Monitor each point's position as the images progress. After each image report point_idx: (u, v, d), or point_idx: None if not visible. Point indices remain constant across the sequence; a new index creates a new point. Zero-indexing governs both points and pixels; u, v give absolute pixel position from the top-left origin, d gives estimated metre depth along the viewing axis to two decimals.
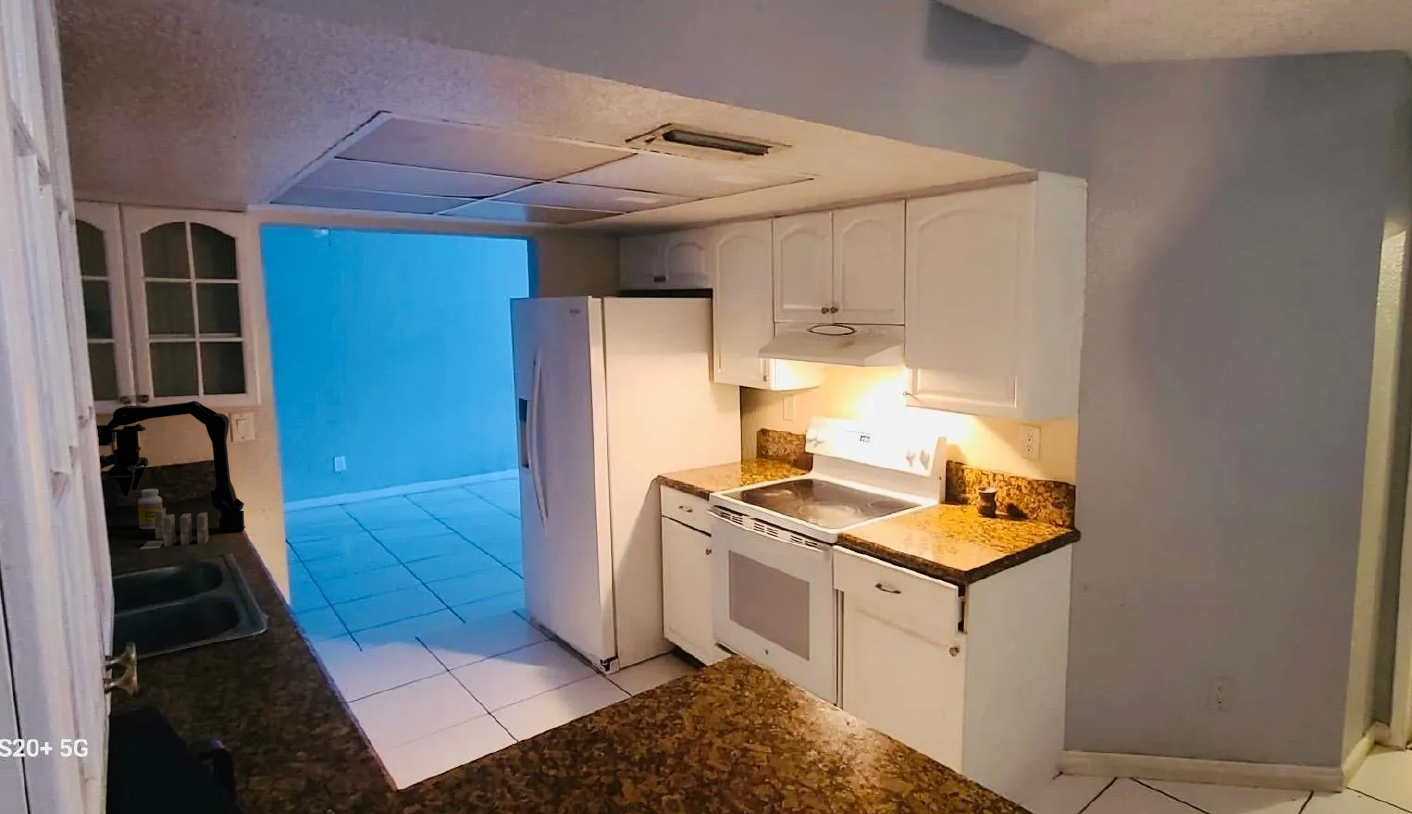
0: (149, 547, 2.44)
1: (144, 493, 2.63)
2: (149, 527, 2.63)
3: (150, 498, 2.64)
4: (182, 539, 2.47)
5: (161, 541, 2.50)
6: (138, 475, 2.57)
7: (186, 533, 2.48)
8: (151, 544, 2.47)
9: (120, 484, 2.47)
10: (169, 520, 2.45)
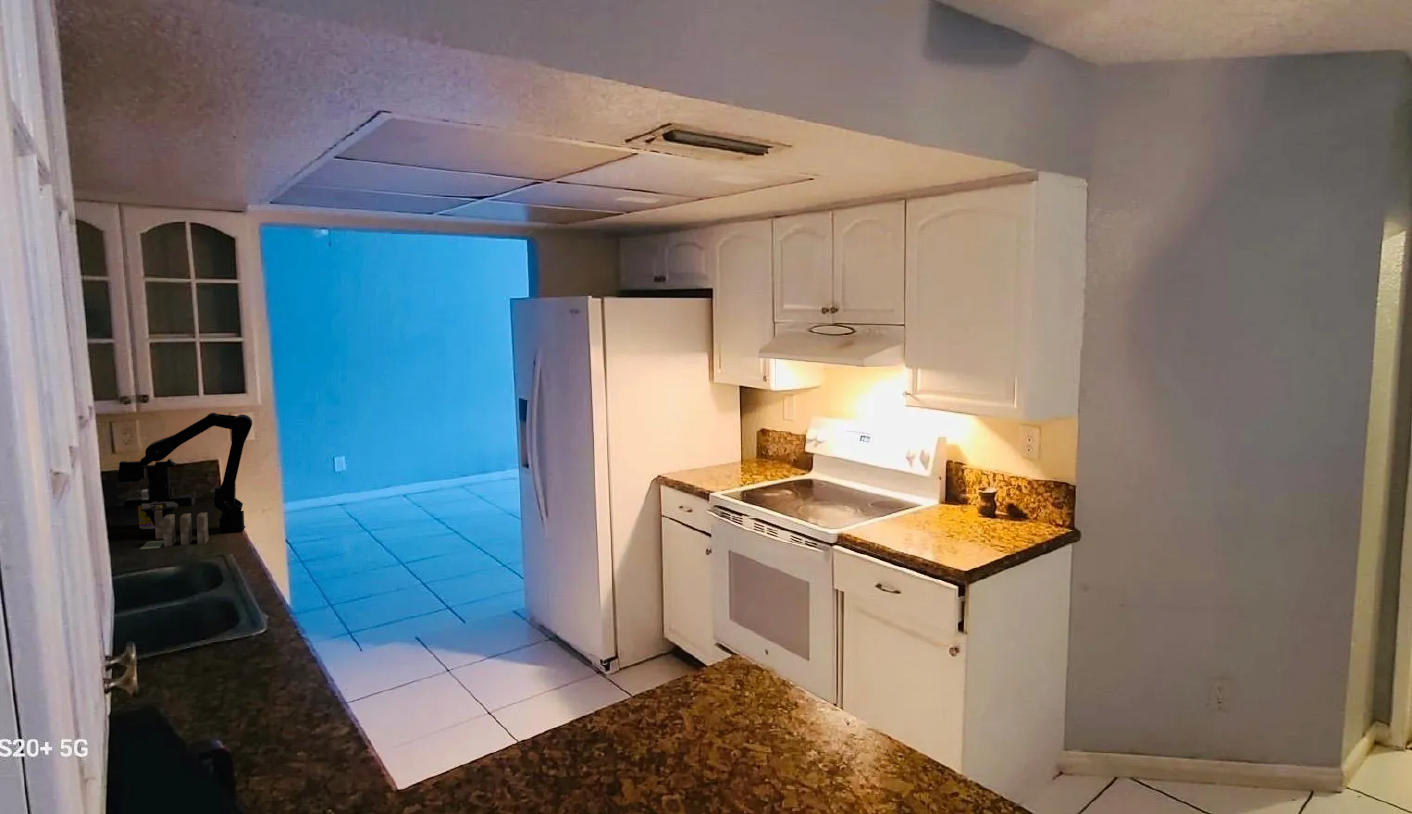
0: (149, 547, 2.44)
1: (144, 493, 2.63)
2: (149, 527, 2.63)
3: None
4: (182, 539, 2.47)
5: (161, 541, 2.50)
6: None
7: (186, 533, 2.48)
8: (151, 544, 2.47)
9: None
10: (169, 520, 2.45)
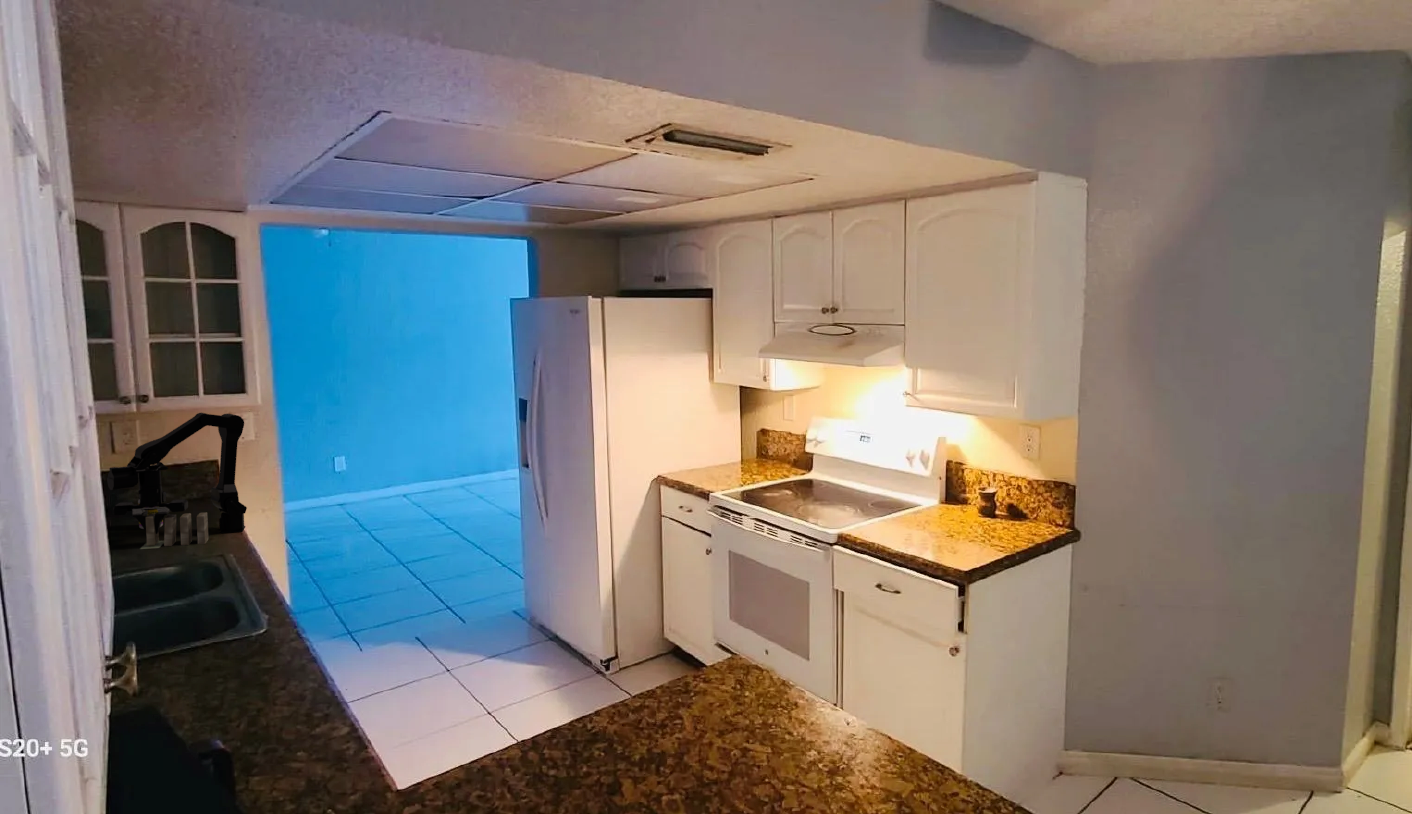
0: (149, 547, 2.44)
1: None
2: None
3: None
4: (182, 539, 2.47)
5: (161, 541, 2.50)
6: None
7: (186, 533, 2.48)
8: None
9: None
10: (171, 520, 2.46)
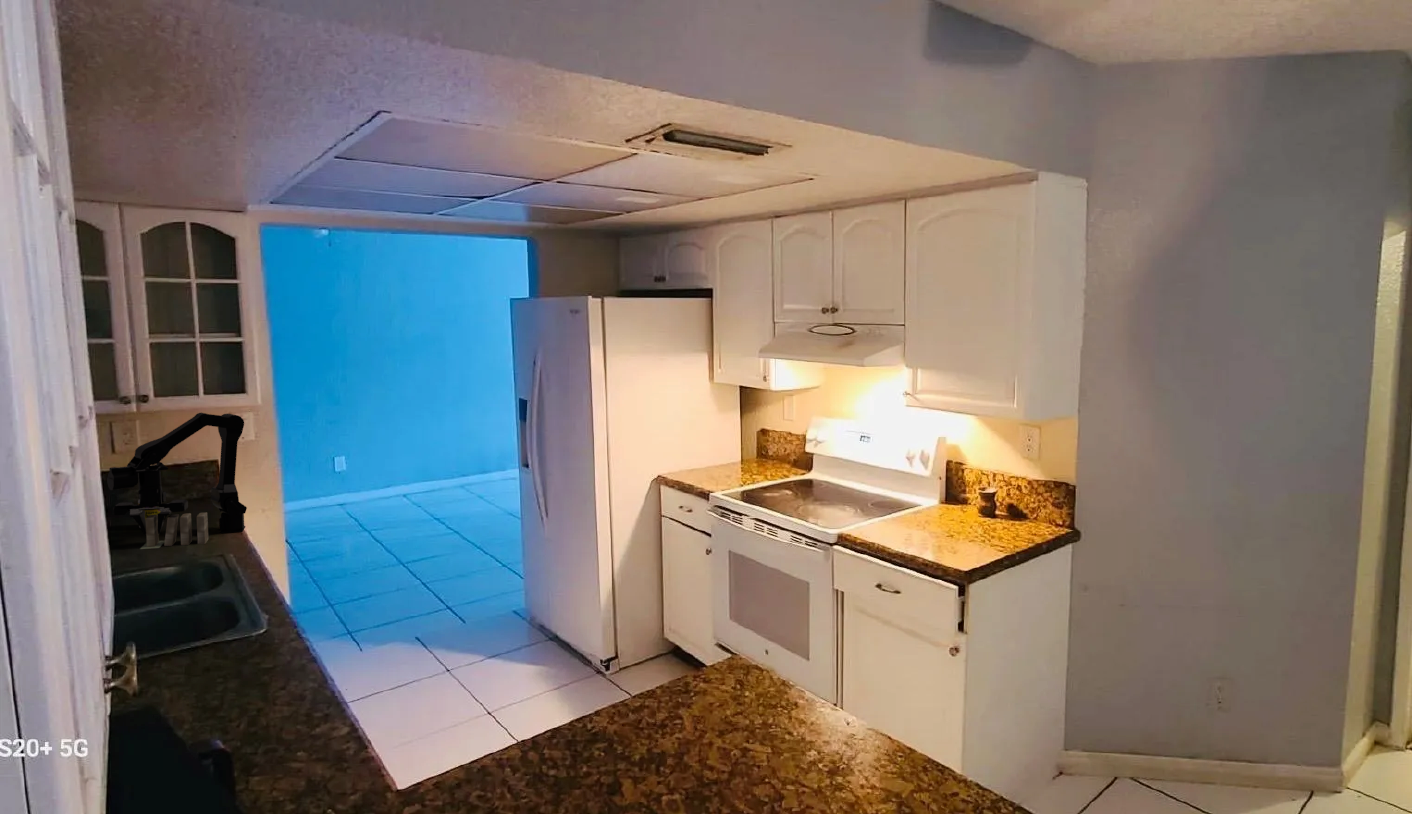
0: (149, 547, 2.44)
1: None
2: None
3: None
4: (182, 539, 2.47)
5: (161, 541, 2.50)
6: None
7: (186, 533, 2.48)
8: None
9: None
10: (173, 520, 2.46)
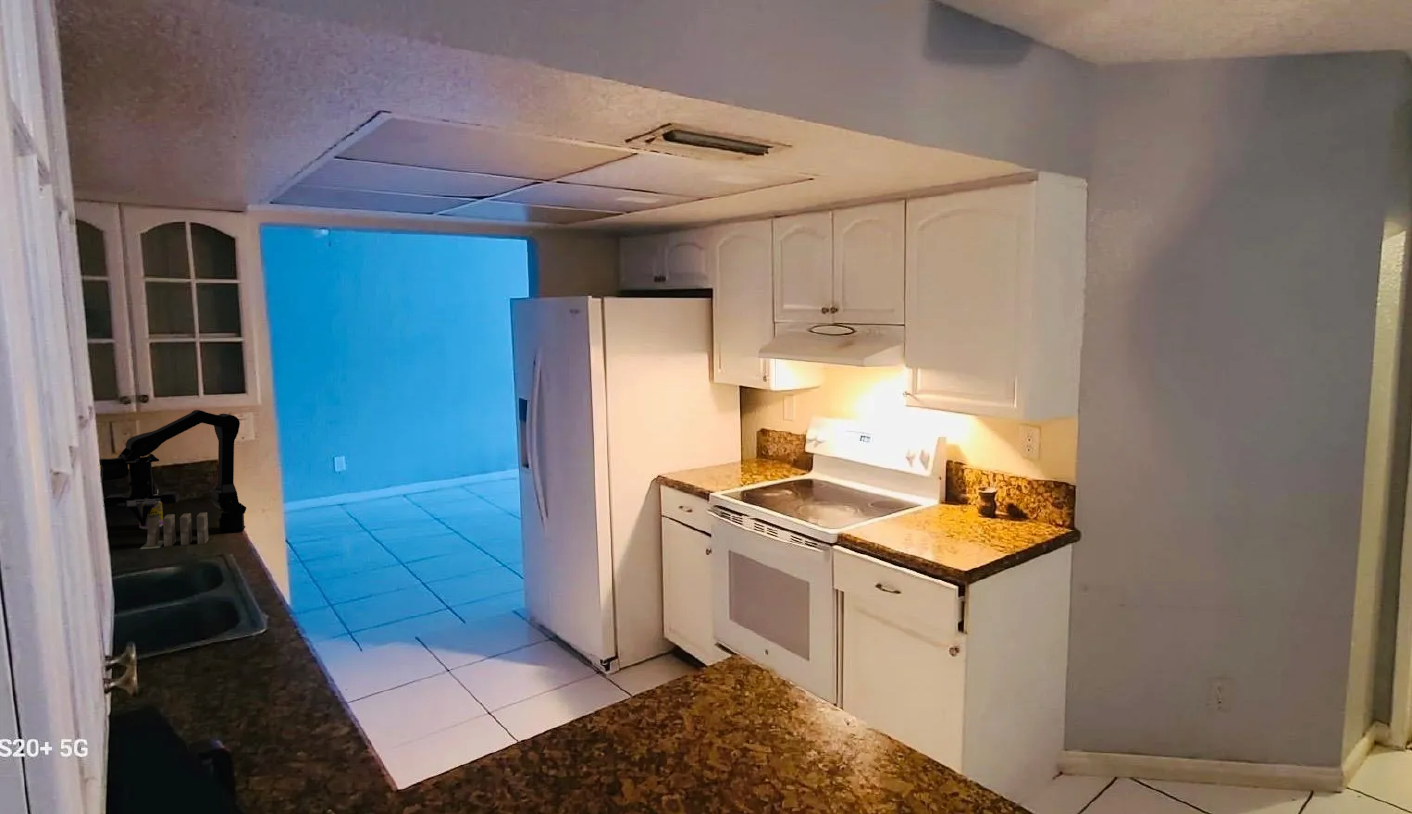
0: (149, 547, 2.44)
1: None
2: None
3: None
4: (182, 539, 2.47)
5: (161, 541, 2.50)
6: None
7: (186, 533, 2.48)
8: None
9: None
10: (169, 520, 2.45)
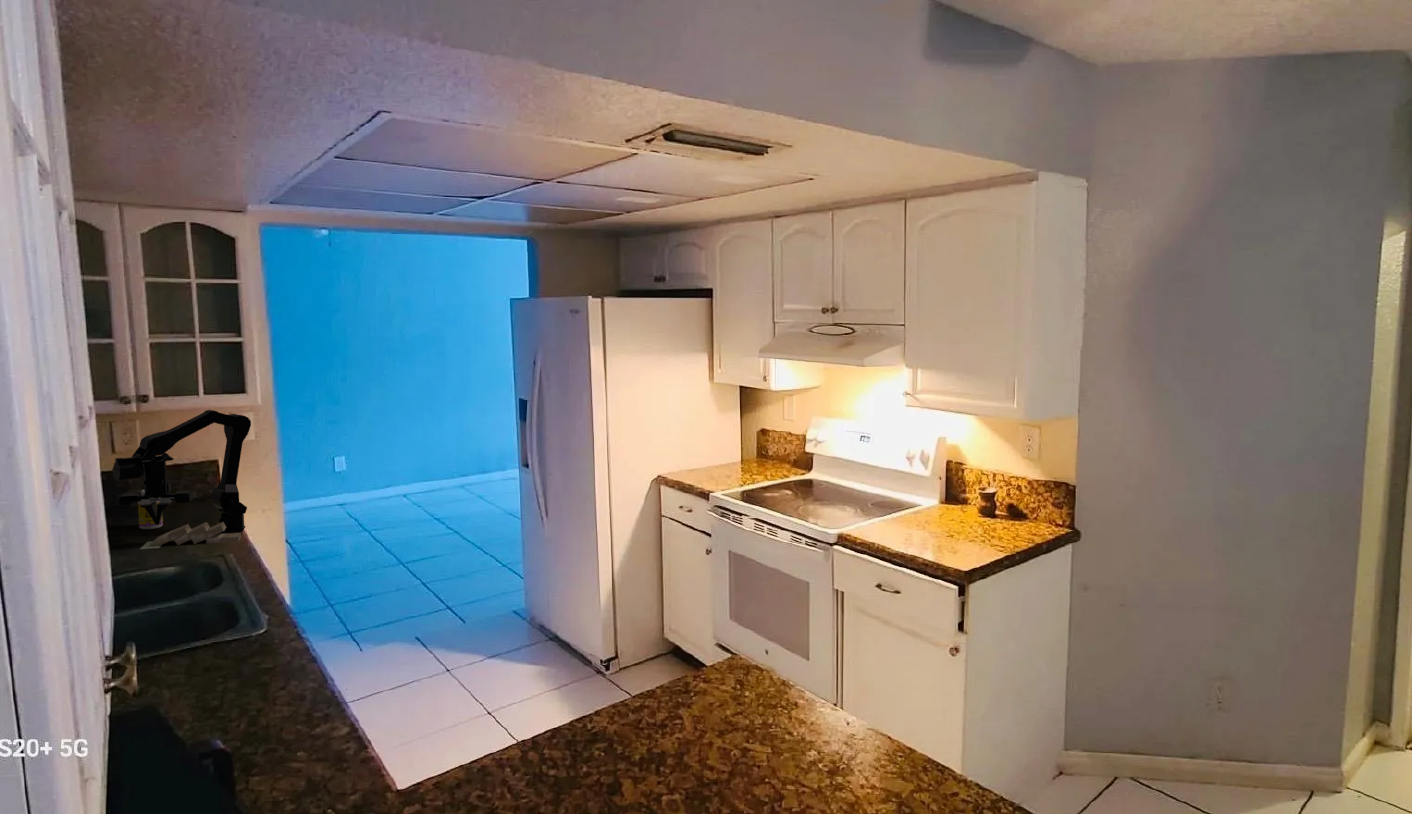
0: (149, 547, 2.44)
1: (144, 493, 2.63)
2: (149, 527, 2.63)
3: None
4: (197, 537, 2.49)
5: None
6: None
7: (205, 537, 2.50)
8: (151, 544, 2.47)
9: None
10: (204, 531, 2.49)
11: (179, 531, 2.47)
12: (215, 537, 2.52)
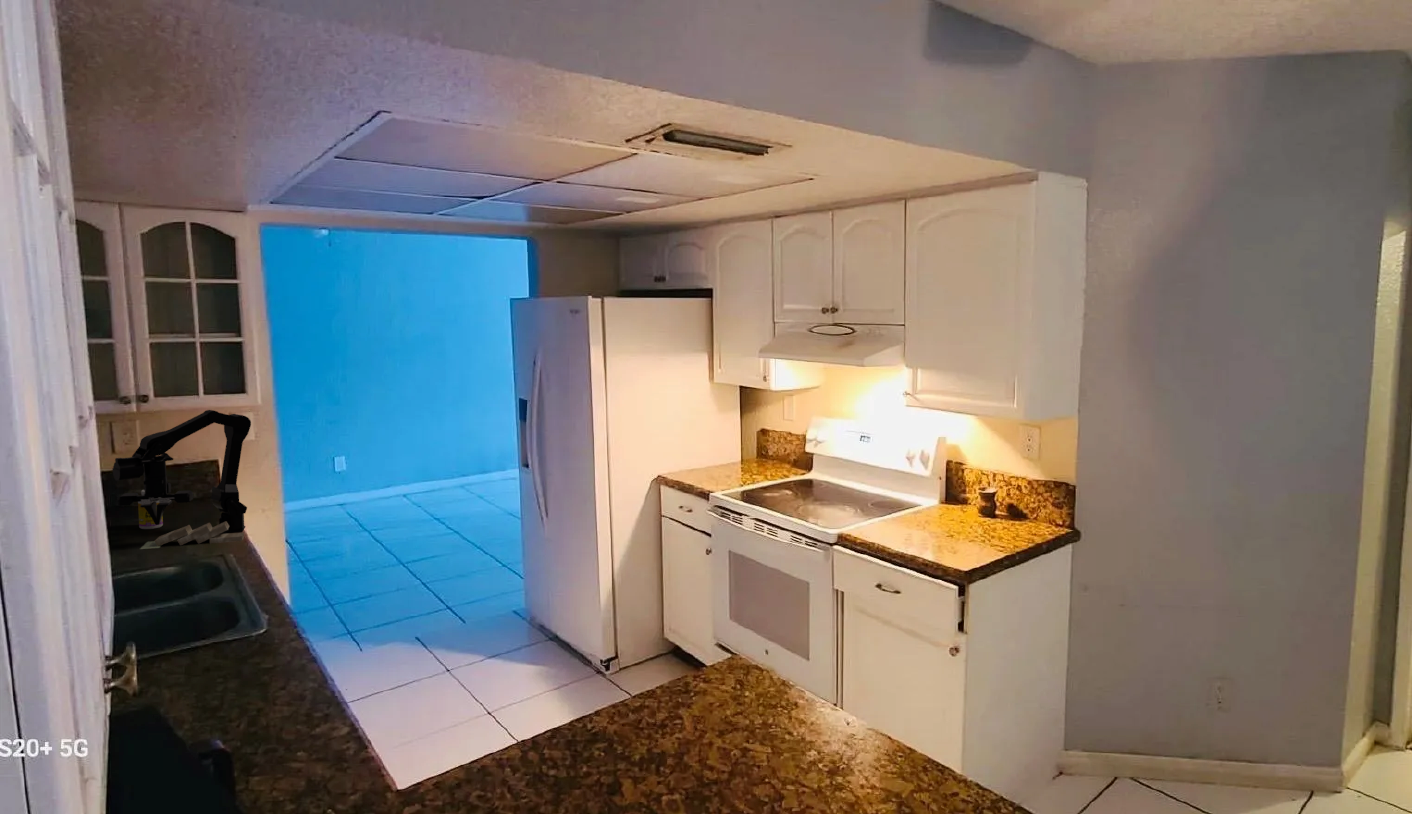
0: (149, 547, 2.44)
1: (144, 493, 2.63)
2: (149, 527, 2.63)
3: None
4: (201, 536, 2.49)
5: None
6: None
7: (209, 536, 2.50)
8: (151, 544, 2.47)
9: None
10: (207, 532, 2.49)
11: (180, 532, 2.47)
12: (218, 537, 2.52)
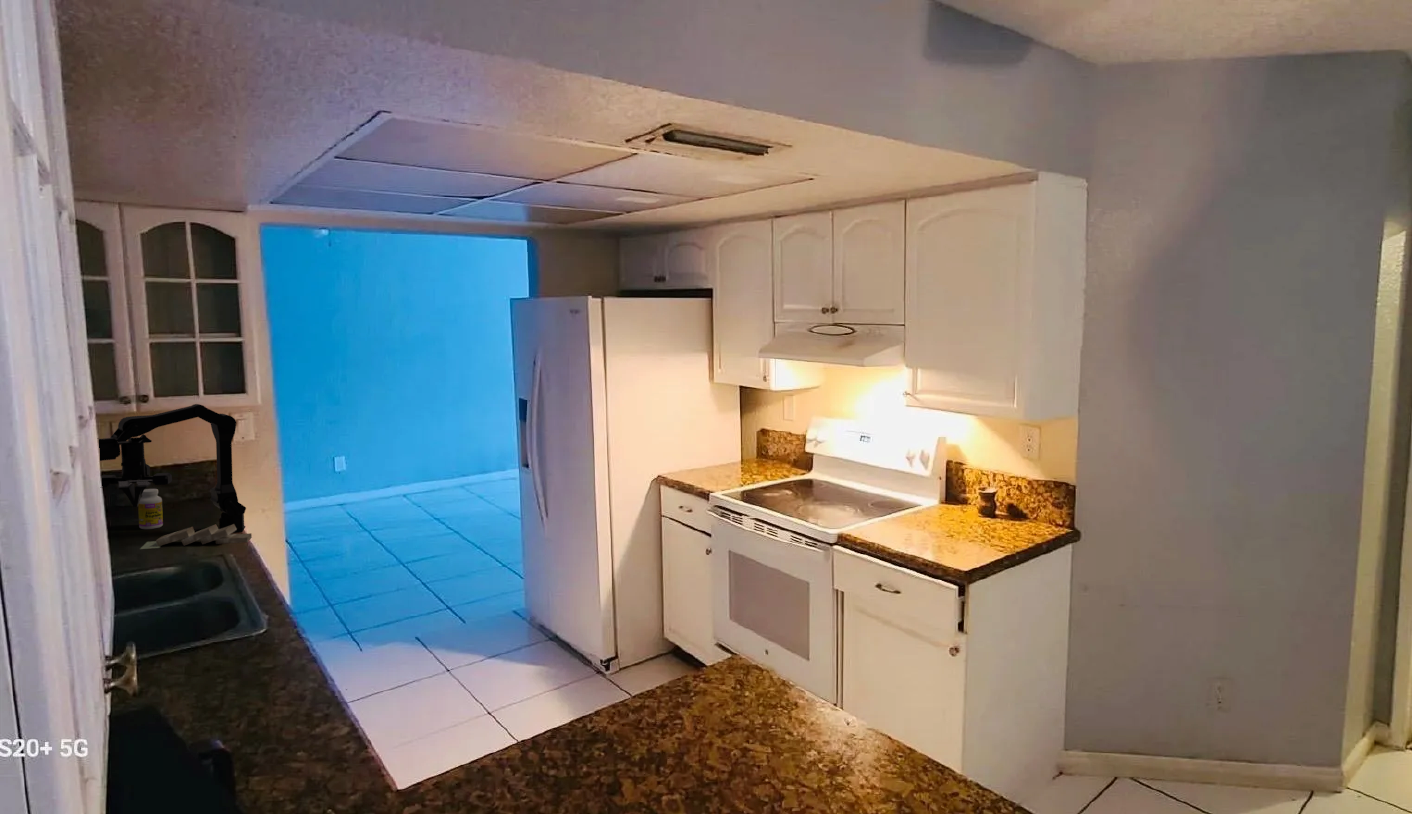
0: (149, 547, 2.44)
1: (144, 493, 2.63)
2: (149, 527, 2.63)
3: (150, 498, 2.64)
4: (205, 538, 2.48)
5: None
6: None
7: (212, 539, 2.48)
8: (151, 544, 2.47)
9: None
10: (208, 534, 2.47)
11: (181, 534, 2.46)
12: (225, 537, 2.52)
